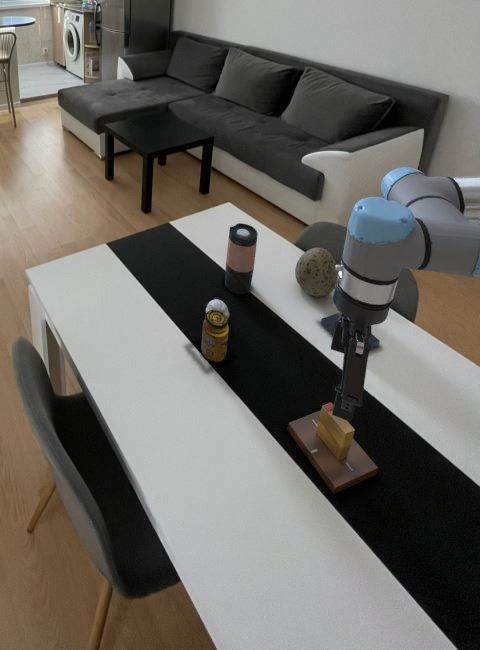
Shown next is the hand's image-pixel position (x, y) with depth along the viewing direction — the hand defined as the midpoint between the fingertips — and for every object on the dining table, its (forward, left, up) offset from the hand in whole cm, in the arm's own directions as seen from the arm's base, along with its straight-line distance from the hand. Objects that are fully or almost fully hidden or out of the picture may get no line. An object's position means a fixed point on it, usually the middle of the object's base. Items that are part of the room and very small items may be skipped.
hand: (340, 381), depth 76 cm
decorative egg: (+36, -32, -23) cm, 53 cm away
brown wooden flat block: (+1, -3, -23) cm, 23 cm away
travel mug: (+45, -13, -23) cm, 52 cm away
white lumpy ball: (+36, 0, -23) cm, 42 cm away
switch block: (+21, -29, -23) cm, 42 cm away
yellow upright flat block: (+1, -3, -20) cm, 20 cm away
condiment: (+28, +7, -23) cm, 37 cm away
